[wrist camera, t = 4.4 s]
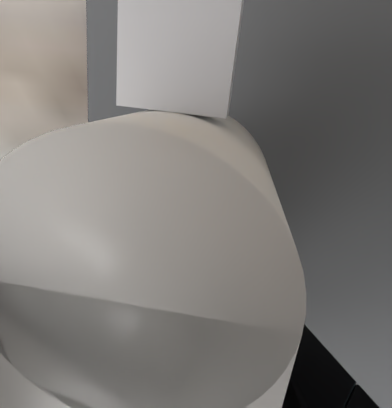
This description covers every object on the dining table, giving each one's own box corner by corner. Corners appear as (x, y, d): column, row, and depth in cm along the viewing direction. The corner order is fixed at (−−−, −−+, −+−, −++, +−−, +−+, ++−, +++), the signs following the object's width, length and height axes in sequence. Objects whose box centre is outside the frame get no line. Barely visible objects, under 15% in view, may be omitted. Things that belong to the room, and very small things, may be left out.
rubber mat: (513, 475, 15) (524, 491, 14) (97, 390, 16) (92, 401, 16) (1065, -298, 6) (1147, -337, 6) (92, -300, 8) (81, -329, 7)
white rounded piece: (230, 394, 11) (222, 621, 6) (107, 370, 11) (14, 566, 7) (307, 0, 7) (448, -193, 2) (111, -17, 7) (-125, -211, 3)
